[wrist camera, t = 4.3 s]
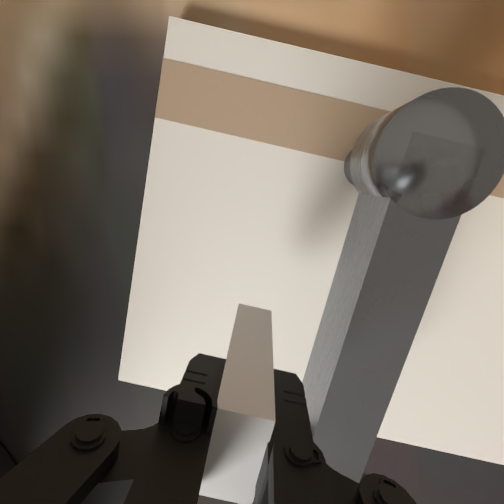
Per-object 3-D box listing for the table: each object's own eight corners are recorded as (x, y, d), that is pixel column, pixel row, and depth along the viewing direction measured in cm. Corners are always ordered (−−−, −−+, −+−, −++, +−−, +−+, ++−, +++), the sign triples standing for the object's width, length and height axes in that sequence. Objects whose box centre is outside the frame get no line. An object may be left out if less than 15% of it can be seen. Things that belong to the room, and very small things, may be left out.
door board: (125, 369, 22) (36, 492, 14) (175, 27, 17) (84, -130, 9) (529, 458, 23) (695, 633, 14) (693, 149, 18) (1112, 120, 9)
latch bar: (267, 446, 17) (268, 514, 13) (366, 101, 13) (403, 73, 9) (339, 462, 17) (358, 533, 13) (460, 123, 13) (531, 104, 9)
